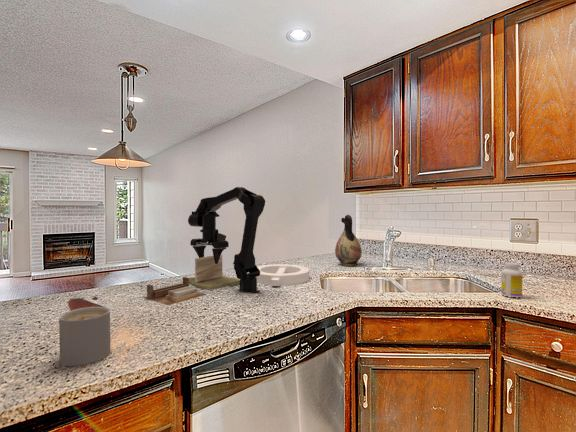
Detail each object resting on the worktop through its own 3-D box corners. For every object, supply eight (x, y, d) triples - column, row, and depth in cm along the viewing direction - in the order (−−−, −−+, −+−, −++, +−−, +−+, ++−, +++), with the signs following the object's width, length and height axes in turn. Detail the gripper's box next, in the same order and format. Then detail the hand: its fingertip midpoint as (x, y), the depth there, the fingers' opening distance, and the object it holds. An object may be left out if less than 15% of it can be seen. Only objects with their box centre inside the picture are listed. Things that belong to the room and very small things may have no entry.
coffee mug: (105, 362, 72) (104, 318, 72) (52, 369, 69) (51, 322, 69) (117, 339, 85) (116, 301, 85) (73, 344, 82) (72, 304, 82)
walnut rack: (207, 296, 125) (207, 281, 125) (168, 308, 111) (168, 290, 111) (181, 290, 134) (180, 276, 134) (142, 300, 120) (142, 284, 120)
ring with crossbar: (274, 289, 137) (274, 278, 137) (240, 278, 159) (240, 268, 159) (321, 280, 155) (321, 270, 154) (285, 271, 176) (285, 262, 176)
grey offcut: (197, 292, 122) (197, 288, 122) (177, 297, 115) (177, 293, 115) (188, 290, 125) (188, 286, 125) (168, 295, 118) (168, 291, 118)
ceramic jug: (332, 262, 200) (332, 214, 199) (356, 262, 201) (356, 214, 201) (339, 268, 183) (339, 215, 182) (366, 267, 185) (366, 214, 184)
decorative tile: (213, 280, 157) (213, 272, 157) (242, 286, 145) (242, 278, 145) (179, 287, 142) (179, 279, 142) (208, 295, 130) (208, 286, 130)
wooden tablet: (67, 302, 119) (67, 298, 119) (98, 298, 125) (98, 293, 125) (72, 323, 98) (72, 318, 98) (110, 316, 104) (110, 311, 104)
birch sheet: (222, 276, 148) (222, 254, 148) (197, 282, 137) (197, 258, 136) (220, 276, 149) (220, 254, 148) (195, 282, 137) (195, 258, 137)
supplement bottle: (525, 297, 125) (526, 263, 124) (516, 299, 121) (517, 265, 121) (506, 293, 130) (507, 261, 130) (497, 295, 127) (498, 262, 127)
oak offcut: (199, 296, 122) (199, 292, 122) (176, 302, 114) (176, 298, 114) (188, 293, 126) (188, 289, 126) (166, 299, 117) (166, 295, 117)
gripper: (237, 227, 143) (237, 262, 143) (208, 225, 154) (209, 258, 154) (218, 228, 134) (218, 266, 134) (189, 226, 145) (189, 261, 145)
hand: (209, 262), depth 142 cm, fingers open, 9 cm apart
